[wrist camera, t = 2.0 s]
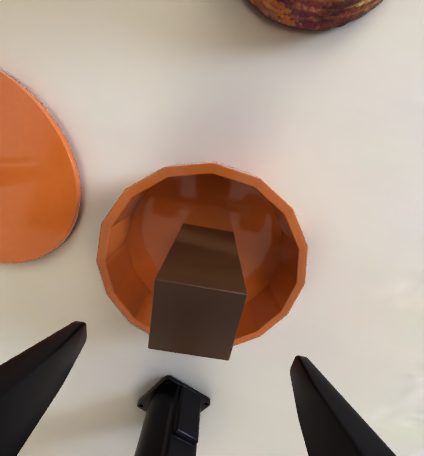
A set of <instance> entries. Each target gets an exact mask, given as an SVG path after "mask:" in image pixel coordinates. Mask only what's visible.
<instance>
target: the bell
mask: <svg viewBox="0 0 424 456" xmlns="http://www.w3.org/2000/svg"><path fill="white" fill-rule="evenodd" d="M249 1H250V2H251V3H252V4H253V5H254V6H256V7H257V8H259V9H260V11H261V12H262V13H263V14H265V15H266V16H267V17H268V18H270V19H272V20H274V21H277V22H279V23H281V24H284V25H287V26H291V27H295V28H298V29H308V30H327V29H331V28H335V27H340V26H343V25H345V24H347V23H349V22H351V21H354V20H356V19H358V18H360V17H362V16H363V15H365V14H366V13H367V12H369V11H370V10H372V9H373V8H375V7H376V6H377V5H379V4H380V3H381V2H382V1H383V0H249Z"/></svg>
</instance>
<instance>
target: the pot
mask: <svg viewBox="0 0 424 456" xmlns="http://www.w3.org/2000/svg"><path fill="white" fill-rule="evenodd" d="M183 223H185V224H190V225H196V226H202V227H207V228H213V229H219V230H224V231H230V232H234V237H235V241H236V246H237V250H238V255H239V259H240V264H241V268H242V273H243V277H244V282H245V286H246V291H247V298H246V302H245V305H244V309H243V312H242V316H241V319H240V323H239V326H238V330H237V333H236V337H235V340H234V344H233V346H235V345H238V344H241V343H243V342H246V341H249V340H252V339H254V338H257V337H260V336H261V335H263V334H264V333H265V332H266V331H268V330H269V329H270V328H271V327H273V326H274V325H275V324H276V323H277V322H279V321H280V320H281V319H282V318H284V317H285V316H286V315H287V314H288V313H289V311H290V309H291V307H292V306H293V304H294V302H295V300H296V298H297V297H298V295H299V293H300V291H301V289H302V288H303V286H304V283H305V274H306V262H307V249H308V247H307V243H306V241H305V238H304V236H303V233H302V231H301V228H300V226H299V223H298V221H297V218H296V215H295V213H294V210H293V209H292V207H290V206H289V205H288V204H287V203H286V202H285V201H284V200H283V199H282V198H281V197H280V196H279V195H277V194H276V193H275V192H274V191H273V190H272V189H271V188H270V187H269V186H268V185H267V184H265V183H264V182H263V181H262V180H261V179H260V178H258V177H256V176H254V175H252V174H250V173H247V172H244V171H241V170H238V169H235V168H232V167H229V166H226V165H223V164H220V163H217V162H202V163H191V164H180V165H173V166H167V167H164V168H162V169H160V170H158V171H157V172H155V173H153V174H151V175H150V176H148V177H146V178H144V179H142V180H141V181H139V182H137V183H135V184H134V185H132V186H130V187H128V188H127V189H126V190H124V192H123V193H122V195H121V196H120V197H119V199H118V200H117V202H116V203H115V205H114V206H113V208H112V209H111V211H110V212H109V213H108V215H107V216H106V218H105V219H104V221H103V222H102V224H101V232H100V239H99V246H98V254H97V264H98V268H99V271H100V274H101V277H102V281H103V284H104V287H105V290H106V293H107V295H108V297H109V298H110V299H111V300H112V302H113V303H114V304H115V305H116V307H117V308H118V309H119V310H120V311H121V313H122V314H123V315H124V316H125V318H126V319H127V320H128V321H129V322H130V323H131V324H133V325H134V326H136V327H138V328H139V329H141V330H143V331H144V332H146V333H148V334H149V333H150V323H151V312H152V302H153V291H154V281H155V278H156V276H157V274H158V272H159V270H160V268H161V266H162V264H163V262H164V260H165V258H166V256H167V254H168V252H169V250H170V248H171V247H172V245H173V243H174V241H175V239H176V237H177V235H178V233H179V231H180V229H181V227H182V225H183Z"/></svg>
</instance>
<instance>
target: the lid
mask: <svg viewBox="0 0 424 456" xmlns="http://www.w3.org/2000/svg"><path fill="white" fill-rule="evenodd" d="M80 203H81V187H80V178H79V173H78V169H77V165H76V162H75V159H74V156H73V153H72V151H71V148H70V146H69V144H68V142H67V140H66V138H65V136H64V134H63V133H62V131H61V130H60V128H59V126H58V125H57V123H56V122H55V120H54V119H53V118H52V116H51V115H50V114H49V112H48V111H47V110H46V108H45V107H44V106H43V105H42V104H41V103H40V102H39V101H38V100H37V99H36V98H35V97H34V96H33V95H32V94H31V93H30V92H29V91H28V90H27V89H25V88H24V87H23V86H22V85H21V84H20V83H18V82H17V81H16V80H14V79H13V78H11V77H10V76H9V75H7V74H6V73H4V72H3V71H1V70H0V263H19V262H27V261H31V260H34V259H37V258H40V257H42V256H44V255H46V254H48V253H50V252H51V251H53V250H54V249H56V248H57V247H59V246H60V245H61V244H62V243H63V242H64V241H65V240H66V238H67V237H68V236H69V234H70V233H71V231H72V229H73V227H74V226H75V223H76V220H77V217H78V214H79V209H80Z"/></svg>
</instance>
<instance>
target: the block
mask: <svg viewBox="0 0 424 456" xmlns="http://www.w3.org/2000/svg"><path fill="white" fill-rule="evenodd" d="M246 298H247V291H246V286H245V282H244V277H243V273H242V268H241V264H240V259H239V255H238V250H237V246H236V241H235V237H234V232H230V231H224V230H219V229H213V228H207V227H202V226H196V225H190V224H185V223H183V225H182V227H181V229H180V231H179V233H178V235H177V237H176V239H175V241H174V243H173V245H172V247H171V248H170V250H169V252H168V254H167V256H166V258H165V260H164V262H163V264H162V266H161V268H160V270H159V272H158V274H157V276H156V278H155V281H154V291H153V302H152V312H151V323H150V333H149V344H148V348H149V349H155V350H162V351H169V352H175V353H182V354H189V355H195V356H202V357H208V358H215V359H222V360H229V358H230V354H231V351H232V347H233V344H234V340H235V337H236V333H237V330H238V326H239V323H240V319H241V316H242V312H243V309H244V305H245V302H246Z"/></svg>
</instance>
